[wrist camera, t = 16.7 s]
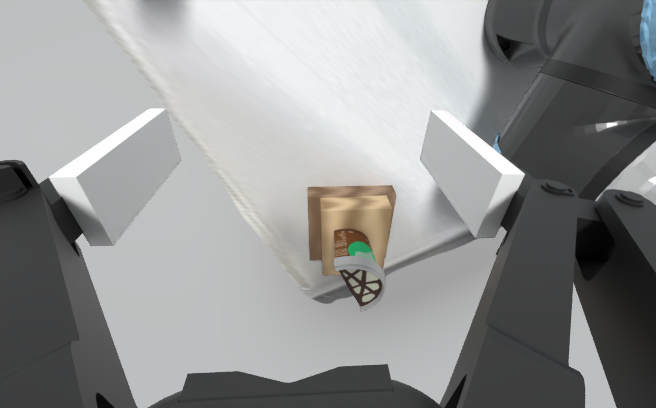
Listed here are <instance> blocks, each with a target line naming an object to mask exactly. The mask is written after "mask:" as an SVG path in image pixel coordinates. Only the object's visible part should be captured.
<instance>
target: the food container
mask: <svg viewBox="0 0 656 408" xmlns="http://www.w3.org/2000/svg"><path fill="white" fill-rule="evenodd" d="M334 247H335V258H334V266H335V270H336V271H339V272H340V273H341V275H342V277H343V279H344V280H345V282H346V284H347V286H348V288H349V290H350V291H351V293H352V294H353V295H354V297H355V298H356V300H357V302H358V303H359V306H360V311H361V312H362V311H365V310H367V309H369V308H371V307H373V306H374V305H376V304H377V303H378V302H379V301H380V300H381V298H382V296H383V294H384V290H385V273H384V271H383V269H382V268H381V267H380V266H379V265H378V264H377V262H376V259H375V256H374V253H373V251H372V248H371V245H370V242H369V239H368V238H367V236H366V235H365V234H363V233H362V232H360V231H358V230H355V229H338V230H335V231H334Z"/></svg>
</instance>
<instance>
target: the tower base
mask: <svg viewBox="0 0 656 408" xmlns="http://www.w3.org/2000/svg"><path fill="white" fill-rule="evenodd" d="M383 195H387V197H388V200H389V202H390V205H391V207H392V211H391V218H390V225H389V232H388V239H387V245H388V240H389V234H390V228H391V223H392V217H393V211H394V206H395V200H396V193H395V191H394V189H393V187H392V186H344V187H308V217H309V245H310V260H322V238H321V206H320V198H333V197H358V196H383ZM387 245H386V251H387ZM385 256H386V252H385Z"/></svg>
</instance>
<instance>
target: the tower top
mask: <svg viewBox="0 0 656 408" xmlns="http://www.w3.org/2000/svg"><path fill="white" fill-rule="evenodd" d="M320 206H321V238H322V267H323V276H324V275H341V273H340V272H339V271H336V270H335V266H334V258H335V247H334V231H335V230H338V229H355V230H358V231H360V232H362V233H363V234H365V235H366V236H367V238H368V239H369V242H370V245H371V248H372V251H373V253H374V256H375V259H376V262H377V264H378V265H379V266H380V267H381V268H382V269H383V266H384V259H385V252H386V245H387V239H388V232H389V225H390V218H391V211H392V207H391V205H390V202H389V200H388V197H387V195H383V196H358V197H333V198H320Z"/></svg>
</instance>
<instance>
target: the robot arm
mask: <svg viewBox="0 0 656 408" xmlns="http://www.w3.org/2000/svg"><path fill="white" fill-rule="evenodd" d="M485 32H486V38H487V42H488V44H489V47H490V49H491V50H492V52H493V53H494V55H495V56H496V57H497V58H499V59H500V60H501V61H503V62H505V63H507V64H510V65H513V66H517V67H522V68H536V67H542V66H543V67H542V69H541V70H540V72H539V73H538V75H537V76H536V78H535V80H534V81H533V83H532V84H531V86H530V87H529V89H528V91H527V92H526V94H525V95H524V97H523V98H522V100H521V101H520V103H519V105H518V106H517V108H516V109H515V111H514V112H513V114H512V116H511V117H510V119H509V120H508V122H507V123H506V125H505V127H504V128H503V130H502V131H501V133H499V134H498V135H497V137H496V139H495V144H494V145H493V147H491V146H489V145H488V144H487V143H486V142H484V141H483V140H482V139H481V138H479V137H478V136H477V135H476V134H474V133H473V132H472V131H471V130H469V129H468V128H467V127H466V126H464V125H463V124H462V123H461V122H459V121H458V120H457V119H456V118H454V117H453V116H452V115H451V114H449V113H448V112H447V111H446V110H431V112H430V117H429V121H428V125H427V130H426V134H425V139H424V143H423V147H422V152H421V156H420V160H421V162H422V163H423V165H424V166H425V167H426V169H427V170H428V172H429V173H430V175H431V176H432V177H433V179H434V180H435V182H436V183H437V185H438V186H439V187H440V189H441V190H442V192H443V193H444V194H445V196H446V197H447V199H448V200H449V202H450V203H451V204H452V206H453V207H454V209H455V210H456V212H457V213H458V214H459V216H460V217H461V219H462V220H463V221H464V223H465V224H466V226H467V227H468V229H469V230H470V231H471V233H472V234H473V236H474V237H475V238H494V237H495V236H496V234H497V232H498V230H499V228H500V226H501V225H502V226H503V227H504V229H505V230H506V231H507V233H506V235H505V237H504V239H503V241H502V243H501V245H500V248H499V249H498V251H497V253H496V255H497V258H496V261H495V263H494V265H493V268H492V271H491V273H490V276H489V279H488V281H487V284H486V287H485V289H484V292H483V295H482V297H481V300H480V302H479V305H478V308H477V311H476V313H475V316H474V319H473V321H472V324H471V327H470V329H469V332H468V335H467V337H466V340H465V342H464V345H463V348H462V350H461V353H460V356H459V358H458V361H457V364H456V366H455V369H454V372H453V374H452V377H451V379H450V382H449V385H448V387H447V390H446V392H445V394H444V396H443V398H442V400H441V403H440V405H439V404H438V403H436V402H435V401H434V400H433V399H431V398H430V397H428V396H427V395H425V394H424V393H422V392H421V391H418V390H417V389H415V388H413V387H411V386H409V385H406V384H404V383H401V382H398V381H395V380H391V378H390V373H389V369H388V365H387V364H385V365H364V366H343V367H337V368H335V369H331V370H328V371H326V372H323V373H320V374H317V375H314V376H311V377H308V378H305V379H302V380H299V381H296V382H292V383H284V382H280V381H276V380H271V379H267V378H264V377H259V376H255V375H251V374H247V373H243V372H239V371H238V372H237V371H236V372H215V373H193V374H188V375H187V378H186V381H185V384H184V387H183V390H182V391H180V392H177V393H175V394H173V395H171V396H168V397H166V398H164V399H162V400H160V401H159V402H157V403H155V404H153V405H152V406H150V407H148V408H585V384H584V378H583V376H582V375H581V373H580V372H579V371H577V370H575V369H573V368H571V367H569V363H568V359H569V343H570V327H571V309H572V293H573V282H574V285H575V288H576V291H577V294H578V296H579V299H580V302H581V305H582V308H583V311H584V314H585V317H586V320H587V323H588V325H589V328H590V331H591V334H592V337H593V340H594V343H595V346H596V349H597V352H598V354H599V357H600V360H601V363H602V366H603V369H604V372H605V375H606V378H607V380H608V384H609V386H610V389H611V392H612V395H613V398H614V401H615V404H616V407H617V408H656V0H489V3H488V6H487V11H486V18H485ZM180 161H181V157H180V153H179V150H178V147H177V143H176V140H175V137H174V134H173V130H172V127H171V123H170V120H169V116H168V113H167V110H166V109H148V110H147V111H145V112H144V113H142V114H141V115H140V116H138V117H137V118H135V119H134V120H132V121H131V122H129V123H128V124H126V125H125V126H123V127H122V128H120V129H119V130H117V131H116V132H115V133H113V134H112V135H110V136H109V137H107V138H106V139H105V140H103V141H101V142H100V143H99V144H97V145H96V146H94V147H93V148H91V149H90V150H88V151H87V152H85V153H84V154H82V155H81V156H79V157H78V158H76V159H75V160H74V161H72V162H70V163H69V164H67V165H66V166H65V167H63V168H62V169H60V170H59V171H57V172H56V173H54V174H53V175H51V176H50V177H49V178H47V179H46V180H44V181H43V182H41V183H40V184H38V183H37V182H36V180H35V178H34V177H33V175H32V174H31V172H30V171H29V169H28V168H27V166H26V165H25V163H24V162H22V161H18V160H5V161H0V408H137V406H136V404H135V401H134V399H133V396H132V393H131V390H130V388H129V385H128V382H127V379H126V377H125V374H124V371H123V368H122V365H121V363H120V359H119V357H118V354H117V351H116V348H115V345H114V342H113V340H112V337H111V334H110V331H109V328H108V326H107V323H106V320H105V317H104V314H103V311H102V309H101V306H100V303H99V300H98V297H97V295H96V292H95V289H94V286H93V283H92V281H91V278H90V275H89V272H88V269H87V267H86V264H85V261H84V258H83V255H82V252H81V249H80V248H79V246H78V245H77V243H76V242H75V240H76V239H77V238H78V237H79V236H80V235H81V234H82V233H83V234H84V236H85V237H86V239H87V241H88V242H89V244H90V246H113V245H114V244H115V243H116V242H117V241H118V239H119V238H120V237H121V236H122V234H123V233H124V232H125V231H126V229H127V228H128V227H129V225H130V224H131V223H132V222H133V220H134V219H135V218H136V217H137V216H138V214H139V213H140V211H141V210H142V209H143V208H144V207H145V205H146V204H147V203H148V201H149V200H150V199H151V198H152V197H153V195H154V194H155V193H156V192H157V190H158V189H159V188H160V187H161V185H162V184H163V183H164V182H165V180H166V179H167V178H168V176H169V175H170V174H171V173H172V171H173V170H174V169H175V167H176V166H177V165H178V164H179V163H180Z"/></svg>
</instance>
